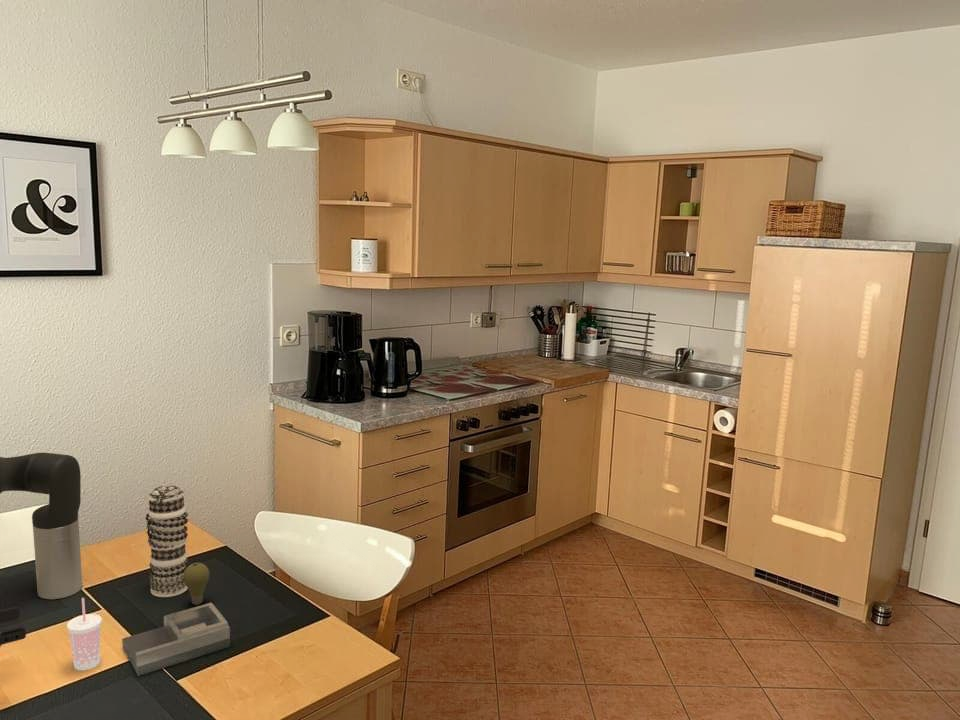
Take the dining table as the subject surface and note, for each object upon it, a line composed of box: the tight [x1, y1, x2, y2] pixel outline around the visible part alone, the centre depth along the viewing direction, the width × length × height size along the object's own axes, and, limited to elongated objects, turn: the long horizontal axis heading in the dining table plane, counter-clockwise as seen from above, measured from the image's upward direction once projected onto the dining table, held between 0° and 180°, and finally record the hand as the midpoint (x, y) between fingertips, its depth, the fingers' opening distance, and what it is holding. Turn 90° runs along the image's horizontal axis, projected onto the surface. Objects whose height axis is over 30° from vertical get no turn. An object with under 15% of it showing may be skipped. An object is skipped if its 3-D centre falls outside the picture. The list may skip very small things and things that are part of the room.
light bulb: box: [183, 562, 210, 606], centre depth 171 cm, size 6×6×10 cm
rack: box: [121, 602, 231, 677], centre depth 154 cm, size 12×18×5 cm, turn 128°
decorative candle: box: [145, 485, 189, 598], centre depth 176 cm, size 9×9×25 cm
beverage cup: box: [66, 597, 103, 671], centre depth 146 cm, size 6×6×14 cm
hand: (22, 621), depth 139 cm, fingers open, 8 cm apart
